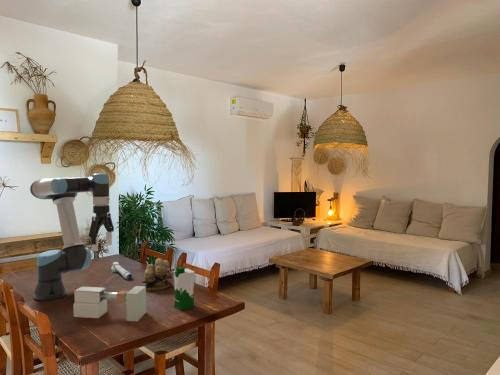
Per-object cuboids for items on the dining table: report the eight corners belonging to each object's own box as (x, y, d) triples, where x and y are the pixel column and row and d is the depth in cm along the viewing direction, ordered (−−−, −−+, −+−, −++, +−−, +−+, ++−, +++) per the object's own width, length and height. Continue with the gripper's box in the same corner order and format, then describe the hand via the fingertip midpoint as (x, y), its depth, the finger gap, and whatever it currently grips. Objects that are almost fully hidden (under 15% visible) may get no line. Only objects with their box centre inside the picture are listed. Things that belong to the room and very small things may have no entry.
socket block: (126, 320, 170) (126, 293, 169) (136, 311, 180) (135, 286, 179) (137, 321, 169) (137, 293, 169) (146, 312, 179) (145, 286, 178)
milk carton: (172, 306, 187) (171, 266, 186) (188, 302, 193) (187, 263, 191) (180, 312, 180) (180, 270, 179) (197, 307, 186) (196, 267, 184)
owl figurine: (167, 281, 225) (167, 253, 224) (177, 287, 216) (177, 257, 215) (138, 288, 214) (138, 258, 212) (148, 294, 205) (147, 263, 203)
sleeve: (73, 316, 174) (73, 291, 173) (83, 310, 182) (82, 285, 181) (98, 318, 173) (97, 292, 172) (107, 311, 181) (106, 286, 180)
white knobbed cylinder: (125, 274, 226) (110, 260, 245) (124, 285, 227) (109, 270, 246) (133, 273, 230) (118, 259, 248) (133, 283, 231) (117, 268, 249)
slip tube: (96, 301, 174) (95, 292, 174) (100, 298, 179) (100, 289, 178) (135, 304, 172) (135, 294, 172) (139, 300, 176) (139, 291, 176)
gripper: (95, 208, 173) (96, 254, 174) (120, 202, 198) (121, 242, 199) (79, 207, 174) (81, 253, 175) (106, 202, 199) (107, 242, 200)
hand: (102, 247), depth 187 cm, fingers open, 13 cm apart
